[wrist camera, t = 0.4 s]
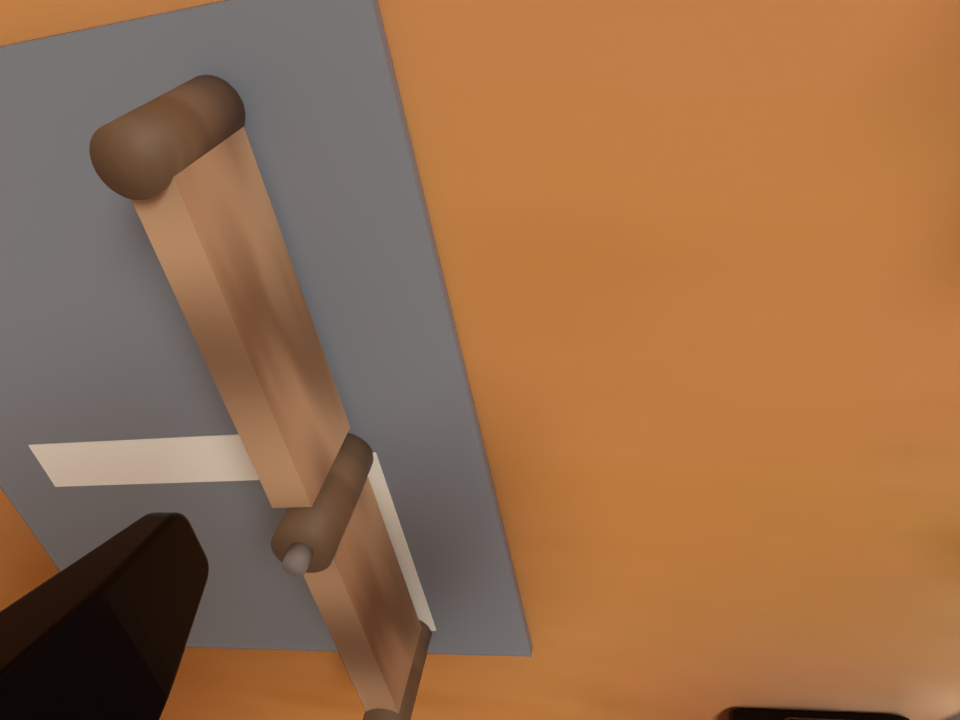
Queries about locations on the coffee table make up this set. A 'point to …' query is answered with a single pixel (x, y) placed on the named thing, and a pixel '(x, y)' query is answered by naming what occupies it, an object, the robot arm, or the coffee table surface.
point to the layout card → (175, 353)
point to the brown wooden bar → (230, 277)
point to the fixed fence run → (358, 584)
